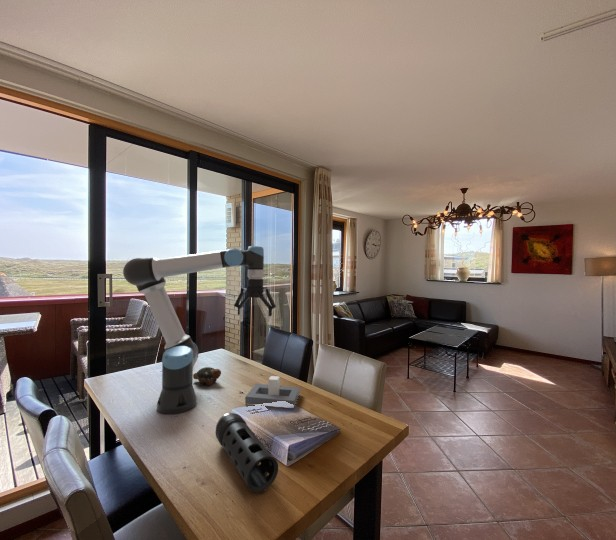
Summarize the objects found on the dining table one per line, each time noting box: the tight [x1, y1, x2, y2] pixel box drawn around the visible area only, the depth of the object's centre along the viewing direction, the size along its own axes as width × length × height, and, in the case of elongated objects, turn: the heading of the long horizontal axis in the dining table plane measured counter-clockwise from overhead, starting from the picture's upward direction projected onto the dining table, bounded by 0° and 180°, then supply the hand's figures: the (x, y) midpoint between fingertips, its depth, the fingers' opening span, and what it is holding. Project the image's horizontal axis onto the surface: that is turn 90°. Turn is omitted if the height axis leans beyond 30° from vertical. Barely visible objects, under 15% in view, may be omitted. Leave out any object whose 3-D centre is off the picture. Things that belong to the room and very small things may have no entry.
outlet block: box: [244, 383, 301, 406], centre depth 132 cm, size 21×14×4 cm, turn 82°
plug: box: [267, 375, 281, 395], centre depth 132 cm, size 4×4×9 cm
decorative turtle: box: [193, 366, 222, 387], centre depth 148 cm, size 10×15×8 cm, turn 80°
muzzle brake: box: [215, 412, 279, 494], centre depth 89 cm, size 10×28×10 cm, turn 34°
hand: (254, 322), depth 144 cm, fingers open, 13 cm apart
